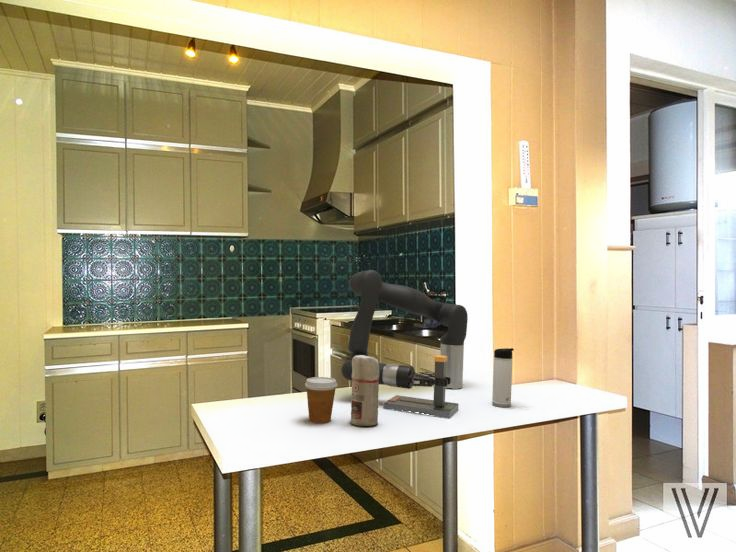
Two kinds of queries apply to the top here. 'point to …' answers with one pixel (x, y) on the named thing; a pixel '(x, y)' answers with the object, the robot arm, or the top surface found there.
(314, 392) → the disposable coffee cup
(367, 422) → the spray can
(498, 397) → the travel mug
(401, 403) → the switch base
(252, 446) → the top surface
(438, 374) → the lever
